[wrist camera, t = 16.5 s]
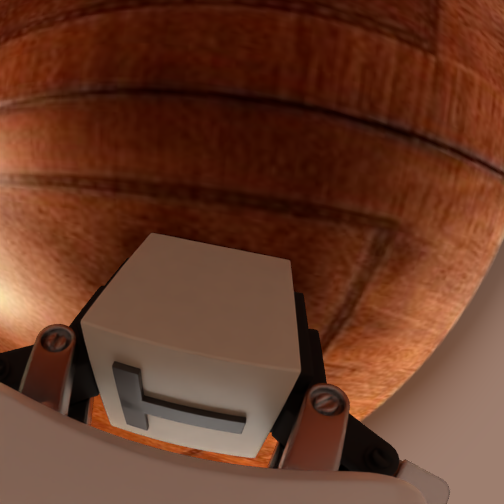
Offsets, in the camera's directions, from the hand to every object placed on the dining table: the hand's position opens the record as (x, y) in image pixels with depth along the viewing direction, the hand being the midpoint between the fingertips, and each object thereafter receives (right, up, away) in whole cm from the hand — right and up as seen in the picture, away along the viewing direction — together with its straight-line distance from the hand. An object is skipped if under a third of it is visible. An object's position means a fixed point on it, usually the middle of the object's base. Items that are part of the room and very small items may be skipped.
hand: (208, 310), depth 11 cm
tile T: (0, 0, 0) cm, 1 cm away
